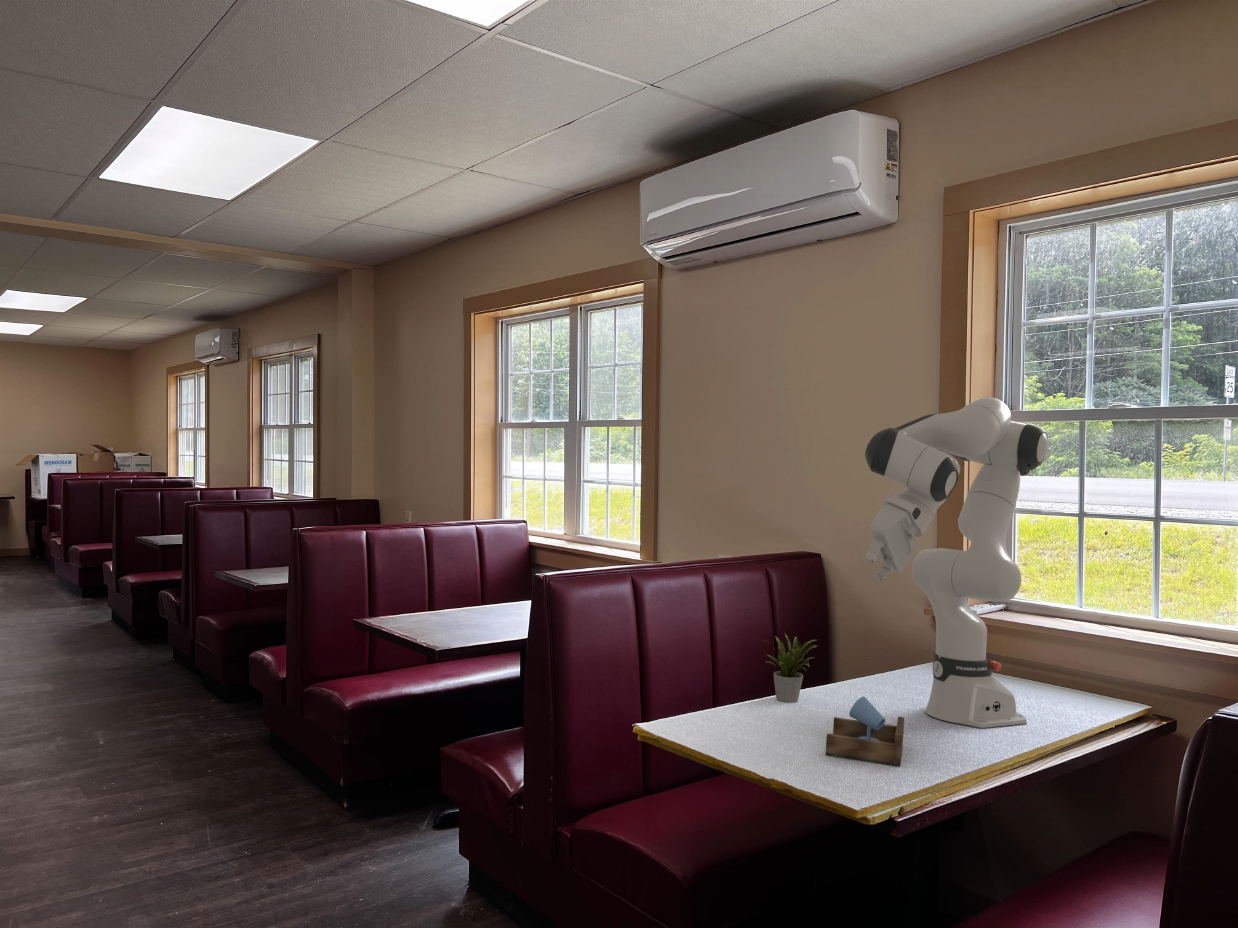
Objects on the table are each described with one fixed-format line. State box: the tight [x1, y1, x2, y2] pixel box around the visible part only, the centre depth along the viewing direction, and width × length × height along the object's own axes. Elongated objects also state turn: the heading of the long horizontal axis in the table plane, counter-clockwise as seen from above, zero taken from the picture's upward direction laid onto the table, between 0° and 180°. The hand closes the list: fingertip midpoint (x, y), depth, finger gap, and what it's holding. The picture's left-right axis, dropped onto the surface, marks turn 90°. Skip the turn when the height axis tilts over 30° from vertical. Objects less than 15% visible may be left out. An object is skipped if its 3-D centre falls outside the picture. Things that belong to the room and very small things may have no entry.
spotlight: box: [848, 696, 886, 741], centre depth 176 cm, size 5×10×7 cm
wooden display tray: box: [825, 716, 905, 768], centre depth 176 cm, size 14×14×6 cm
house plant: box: [763, 632, 818, 704], centre depth 212 cm, size 14×14×16 cm
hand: (873, 569), depth 184 cm, fingers open, 8 cm apart
